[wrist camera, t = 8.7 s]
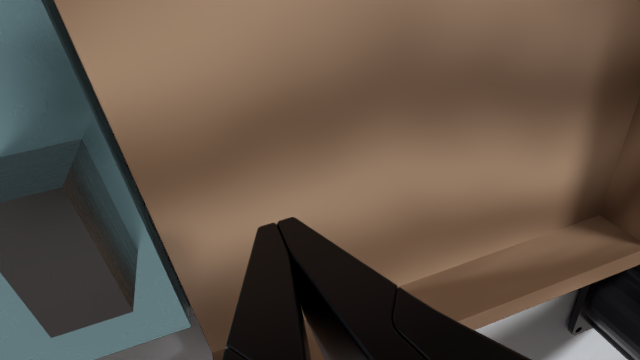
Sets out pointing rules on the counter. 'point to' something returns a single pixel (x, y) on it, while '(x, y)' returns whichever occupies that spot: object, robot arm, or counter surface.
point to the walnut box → (380, 139)
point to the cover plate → (60, 113)
